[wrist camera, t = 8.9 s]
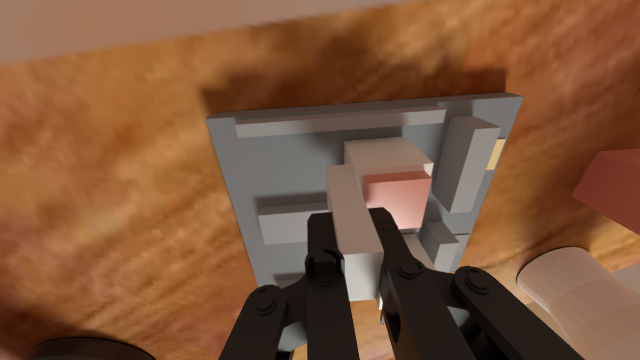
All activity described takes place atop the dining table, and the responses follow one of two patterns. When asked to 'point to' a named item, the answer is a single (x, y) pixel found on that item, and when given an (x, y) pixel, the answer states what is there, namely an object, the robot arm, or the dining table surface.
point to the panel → (328, 149)
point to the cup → (585, 303)
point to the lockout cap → (613, 186)
